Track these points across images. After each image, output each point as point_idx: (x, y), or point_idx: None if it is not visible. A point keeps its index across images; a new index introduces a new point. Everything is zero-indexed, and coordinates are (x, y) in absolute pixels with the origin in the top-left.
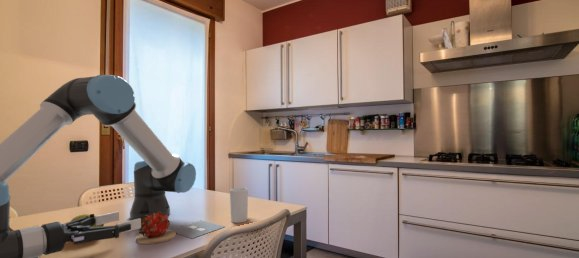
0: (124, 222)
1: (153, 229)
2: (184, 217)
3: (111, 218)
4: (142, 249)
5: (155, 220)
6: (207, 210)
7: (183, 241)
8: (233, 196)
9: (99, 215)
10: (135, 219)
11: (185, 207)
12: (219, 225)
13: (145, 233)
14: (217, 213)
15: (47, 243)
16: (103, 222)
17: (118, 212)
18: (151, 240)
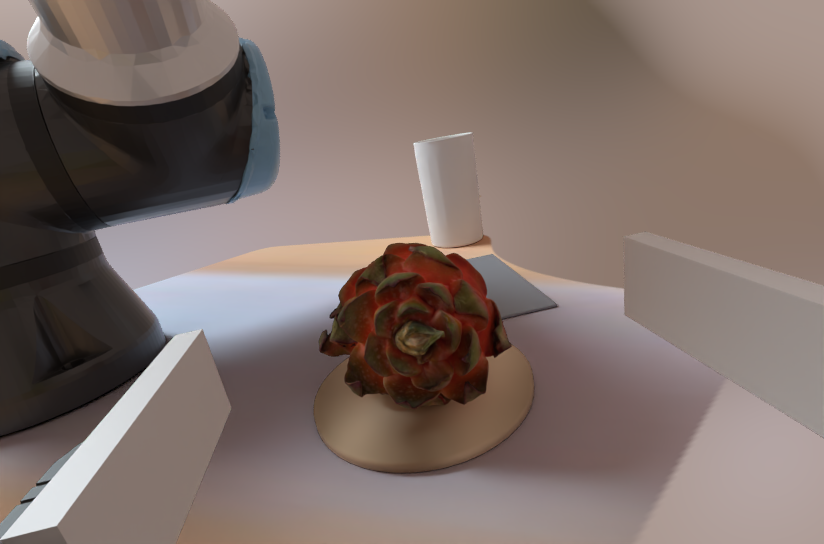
0: (783, 276)
1: (503, 329)
2: (264, 308)
3: (195, 425)
4: (605, 460)
5: (469, 279)
6: (275, 272)
7: (574, 325)
8: (457, 156)
9: (62, 477)
10: (661, 245)
11: (160, 302)
12: (467, 260)
13: (457, 382)
14: (335, 261)
15: None
16: (170, 525)
17: (203, 337)
18: (491, 400)
